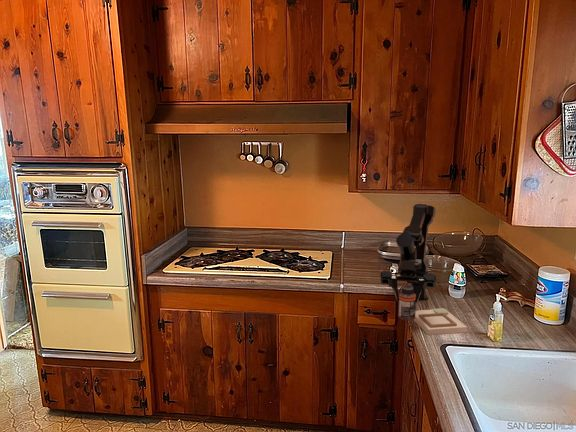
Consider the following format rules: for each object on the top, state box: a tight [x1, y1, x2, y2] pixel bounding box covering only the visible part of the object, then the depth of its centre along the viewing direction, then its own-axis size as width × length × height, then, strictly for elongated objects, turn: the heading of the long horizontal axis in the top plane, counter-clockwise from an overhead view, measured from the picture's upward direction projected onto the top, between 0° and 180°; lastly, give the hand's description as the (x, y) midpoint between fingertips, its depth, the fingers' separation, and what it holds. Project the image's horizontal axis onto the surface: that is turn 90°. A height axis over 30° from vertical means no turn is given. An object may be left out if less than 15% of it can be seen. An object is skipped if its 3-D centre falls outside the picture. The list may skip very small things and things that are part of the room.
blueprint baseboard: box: [413, 307, 468, 336], centre depth 155 cm, size 16×14×3 cm
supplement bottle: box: [397, 284, 417, 322], centre depth 149 cm, size 6×6×11 cm
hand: (407, 301), depth 148 cm, fingers closed on supplement bottle, 6 cm apart
